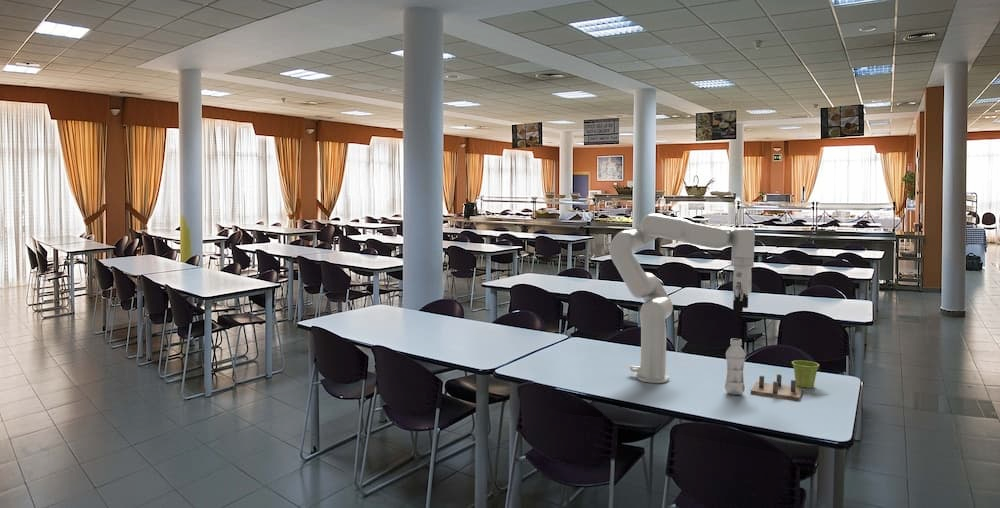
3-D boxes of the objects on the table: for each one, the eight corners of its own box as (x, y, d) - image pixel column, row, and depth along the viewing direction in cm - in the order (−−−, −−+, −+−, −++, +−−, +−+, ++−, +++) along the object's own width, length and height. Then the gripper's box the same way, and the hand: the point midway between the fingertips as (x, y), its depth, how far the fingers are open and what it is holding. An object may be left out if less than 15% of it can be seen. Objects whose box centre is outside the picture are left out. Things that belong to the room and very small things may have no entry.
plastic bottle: (745, 397, 224) (748, 341, 222) (725, 396, 225) (727, 341, 223) (742, 392, 230) (744, 338, 228) (723, 390, 231) (725, 337, 230)
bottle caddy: (750, 393, 228) (751, 379, 228) (756, 384, 239) (756, 371, 239) (799, 400, 220) (800, 386, 220) (802, 391, 231) (803, 377, 231)
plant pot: (785, 383, 241) (786, 361, 240) (804, 381, 244) (805, 359, 243) (804, 390, 232) (805, 367, 231) (824, 388, 235) (825, 365, 234)
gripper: (749, 265, 217) (747, 314, 219) (757, 260, 232) (755, 307, 234) (726, 263, 221) (724, 312, 223) (736, 259, 236) (734, 305, 237)
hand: (740, 309), depth 228 cm, fingers open, 9 cm apart
